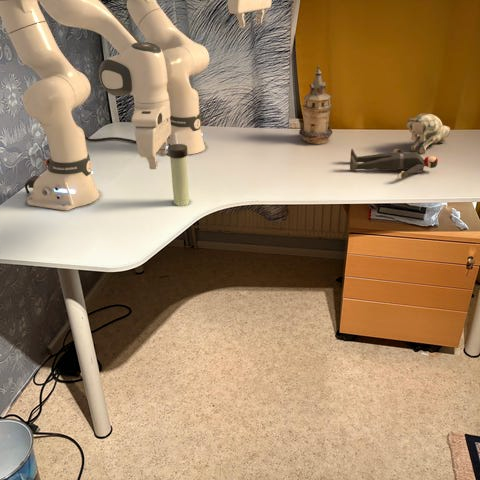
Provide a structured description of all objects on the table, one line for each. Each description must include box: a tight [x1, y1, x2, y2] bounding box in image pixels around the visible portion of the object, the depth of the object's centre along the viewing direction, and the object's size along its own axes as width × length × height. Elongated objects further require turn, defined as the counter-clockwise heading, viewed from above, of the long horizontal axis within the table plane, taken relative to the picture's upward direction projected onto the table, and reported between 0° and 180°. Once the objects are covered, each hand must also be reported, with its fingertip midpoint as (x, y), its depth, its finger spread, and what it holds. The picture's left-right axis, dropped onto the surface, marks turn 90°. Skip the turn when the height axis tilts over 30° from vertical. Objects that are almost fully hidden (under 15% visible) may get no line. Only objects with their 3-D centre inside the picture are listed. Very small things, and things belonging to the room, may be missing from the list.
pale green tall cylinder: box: [169, 156, 190, 207], centre depth 166 cm, size 5×5×18 cm
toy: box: [349, 148, 439, 180], centre depth 190 cm, size 26×6×30 cm
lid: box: [167, 144, 189, 158], centre depth 162 cm, size 6×6×2 cm
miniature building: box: [298, 65, 333, 145], centre depth 213 cm, size 13×14×30 cm
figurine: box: [406, 113, 451, 154], centre depth 207 cm, size 10×19×20 cm
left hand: (158, 161), depth 143 cm, fingers open, 8 cm apart
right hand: (250, 25), depth 175 cm, fingers open, 8 cm apart
